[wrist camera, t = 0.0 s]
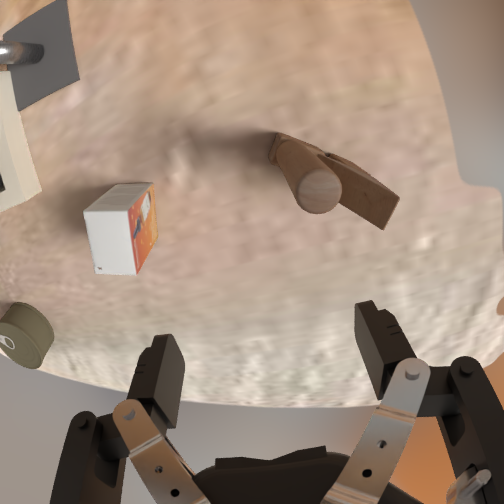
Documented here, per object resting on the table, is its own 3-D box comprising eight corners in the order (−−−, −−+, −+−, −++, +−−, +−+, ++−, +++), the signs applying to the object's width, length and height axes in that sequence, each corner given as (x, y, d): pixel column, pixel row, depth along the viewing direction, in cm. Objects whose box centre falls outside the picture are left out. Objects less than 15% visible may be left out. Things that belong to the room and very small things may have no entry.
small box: (158, 237, 43) (137, 278, 34) (122, 236, 43) (94, 275, 34) (154, 181, 39) (128, 210, 30) (115, 182, 39) (81, 211, 30)
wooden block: (342, 186, 40) (401, 250, 25) (267, 157, 38) (284, 206, 23) (354, 162, 39) (421, 212, 23) (277, 130, 37) (304, 159, 21)
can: (57, 353, 55) (45, 377, 49) (14, 334, 53) (0, 355, 47) (52, 313, 50) (37, 337, 44) (5, 293, 48) (-12, 314, 42)
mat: (4, 34, 26) (3, 34, 26) (66, -5, 26) (64, -5, 25) (17, 112, 33) (15, 113, 33) (79, 79, 32) (78, 79, 32)
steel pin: (27, 49, 28) (-18, 48, 19) (43, 40, 28) (-2, 35, 19) (30, 67, 30) (-16, 69, 21) (45, 58, 29) (0, 56, 21)
